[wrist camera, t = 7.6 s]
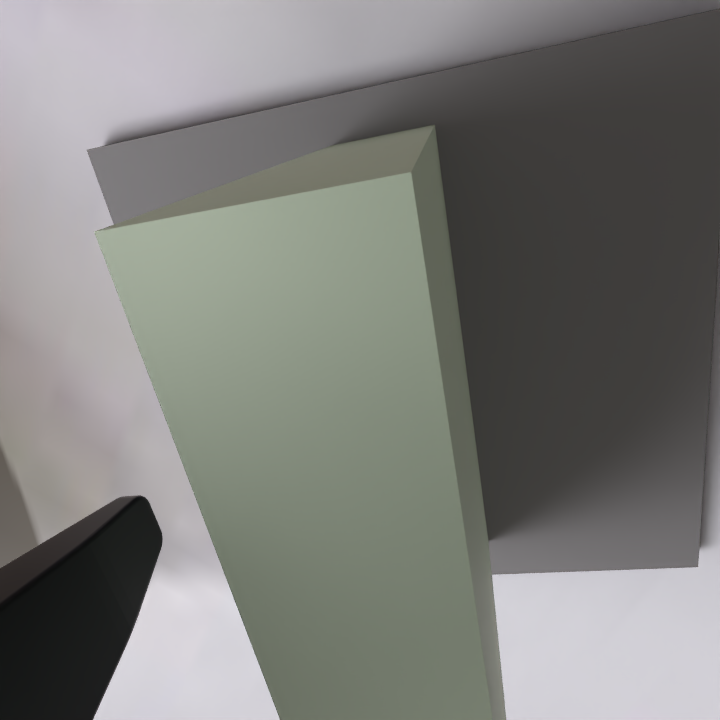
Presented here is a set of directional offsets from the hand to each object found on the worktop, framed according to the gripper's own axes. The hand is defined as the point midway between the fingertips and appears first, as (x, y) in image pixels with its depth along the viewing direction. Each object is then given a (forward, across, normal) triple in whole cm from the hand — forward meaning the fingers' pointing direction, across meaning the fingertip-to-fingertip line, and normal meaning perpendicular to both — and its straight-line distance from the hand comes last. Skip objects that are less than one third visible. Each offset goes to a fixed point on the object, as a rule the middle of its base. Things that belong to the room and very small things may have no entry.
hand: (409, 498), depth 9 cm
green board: (+4, 0, 0) cm, 4 cm away
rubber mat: (+5, 0, 0) cm, 5 cm away
